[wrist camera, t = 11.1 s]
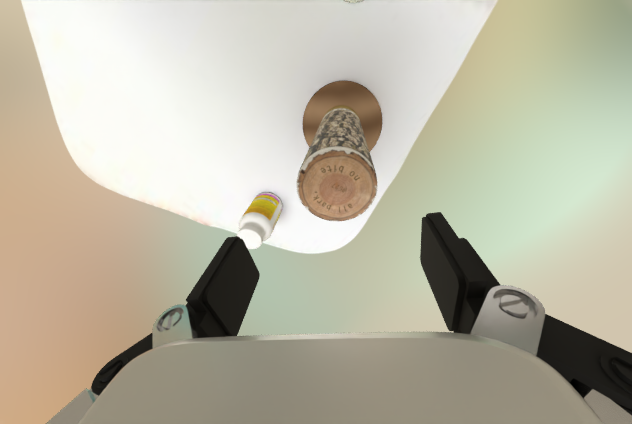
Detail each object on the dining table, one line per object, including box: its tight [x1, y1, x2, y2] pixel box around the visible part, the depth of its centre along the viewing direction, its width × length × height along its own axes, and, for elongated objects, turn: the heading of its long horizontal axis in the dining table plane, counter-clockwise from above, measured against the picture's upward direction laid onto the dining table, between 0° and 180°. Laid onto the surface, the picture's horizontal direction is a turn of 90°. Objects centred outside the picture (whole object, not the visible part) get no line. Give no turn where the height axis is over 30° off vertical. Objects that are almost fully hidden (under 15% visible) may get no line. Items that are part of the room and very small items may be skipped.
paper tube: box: [297, 105, 377, 221], centre depth 29 cm, size 7×7×25 cm
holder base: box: [303, 81, 382, 152], centre depth 34 cm, size 14×14×17 cm
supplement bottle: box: [237, 192, 282, 249], centre depth 46 cm, size 7×7×13 cm
